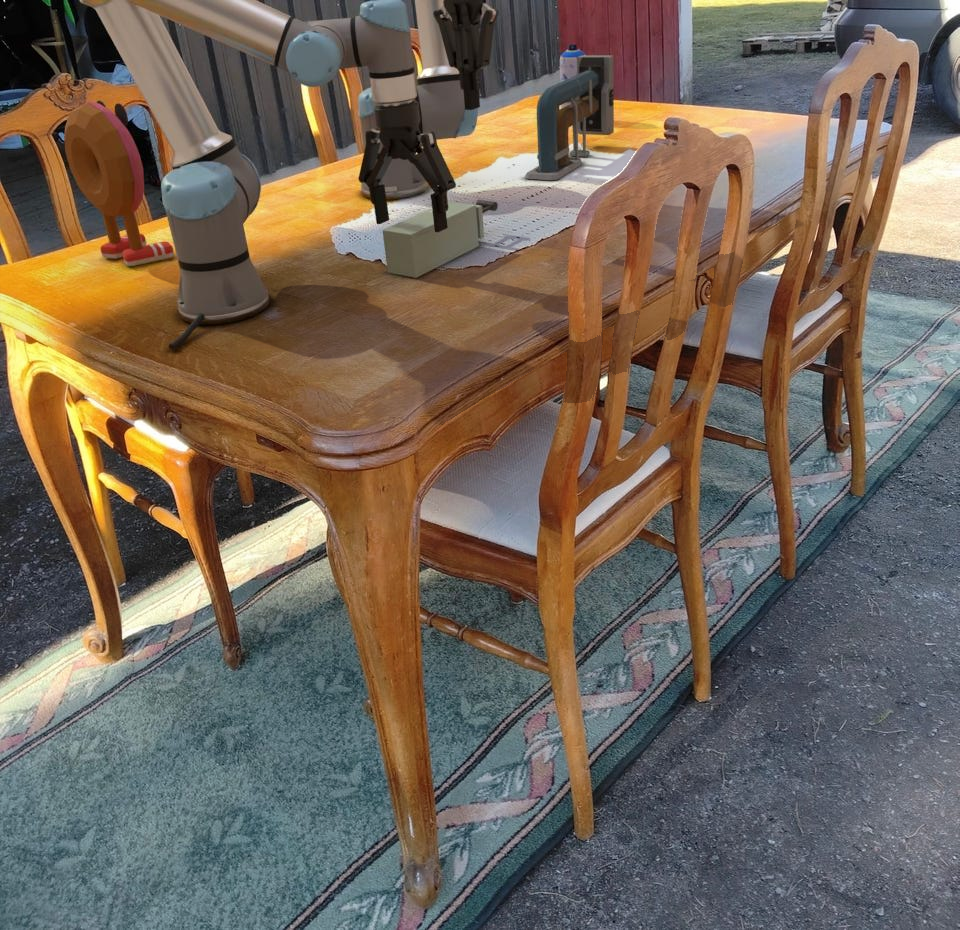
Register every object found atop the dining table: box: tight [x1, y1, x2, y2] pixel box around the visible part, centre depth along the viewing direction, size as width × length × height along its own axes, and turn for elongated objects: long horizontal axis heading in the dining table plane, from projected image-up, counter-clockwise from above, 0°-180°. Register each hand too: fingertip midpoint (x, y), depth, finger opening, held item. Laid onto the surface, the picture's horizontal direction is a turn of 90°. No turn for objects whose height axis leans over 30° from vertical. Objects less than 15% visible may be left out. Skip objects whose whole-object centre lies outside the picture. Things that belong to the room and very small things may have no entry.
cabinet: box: [382, 201, 480, 279], centre depth 179 cm, size 19×7×8 cm, turn 144°
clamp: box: [524, 54, 615, 181], centre depth 231 cm, size 35×9×21 cm, turn 151°
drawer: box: [461, 199, 499, 240], centre depth 183 cm, size 24×6×6 cm, turn 144°
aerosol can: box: [559, 43, 586, 109], centre depth 273 cm, size 8×8×20 cm
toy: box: [64, 100, 175, 267], centre depth 188 cm, size 21×10×30 cm, turn 47°
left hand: (411, 226), depth 173 cm, fingers open, 13 cm apart
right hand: (472, 108), depth 179 cm, fingers closed
